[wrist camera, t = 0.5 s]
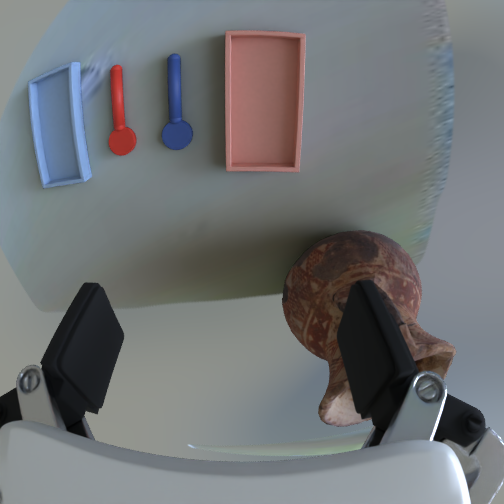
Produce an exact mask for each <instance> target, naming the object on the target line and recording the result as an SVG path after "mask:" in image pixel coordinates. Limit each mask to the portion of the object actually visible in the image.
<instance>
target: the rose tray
mask: <svg viewBox="0 0 504 504" xmlns="http://www.w3.org/2000/svg"><path fill="white" fill-rule="evenodd" d="M225 35H226V36H225V135H226V171H274V172H299V166H300V152H301V137H302V121H303V101H304V76H305V34H300V33H290V32H276V31H225Z"/></svg>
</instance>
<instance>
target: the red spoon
mask: <svg viewBox="0 0 504 504" xmlns="http://www.w3.org/2000/svg"><path fill="white" fill-rule="evenodd" d="M110 75H111V97H112V111H113V123H114V129H115V130H114V131H113V132H112V133H111V135H110V137H109V147H110V149H111V150H112V152H113V153H115V154H117V155H126V154H128V153H129V152H131V151H132V150H133V149H134V147H135V145H136V135H135V133H134V132H133V130H132V129H130V128H128V127H125V116H124V102H123V83H122V67H121V66H120V65H115V66H113V67H112V68H111V71H110Z"/></svg>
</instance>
